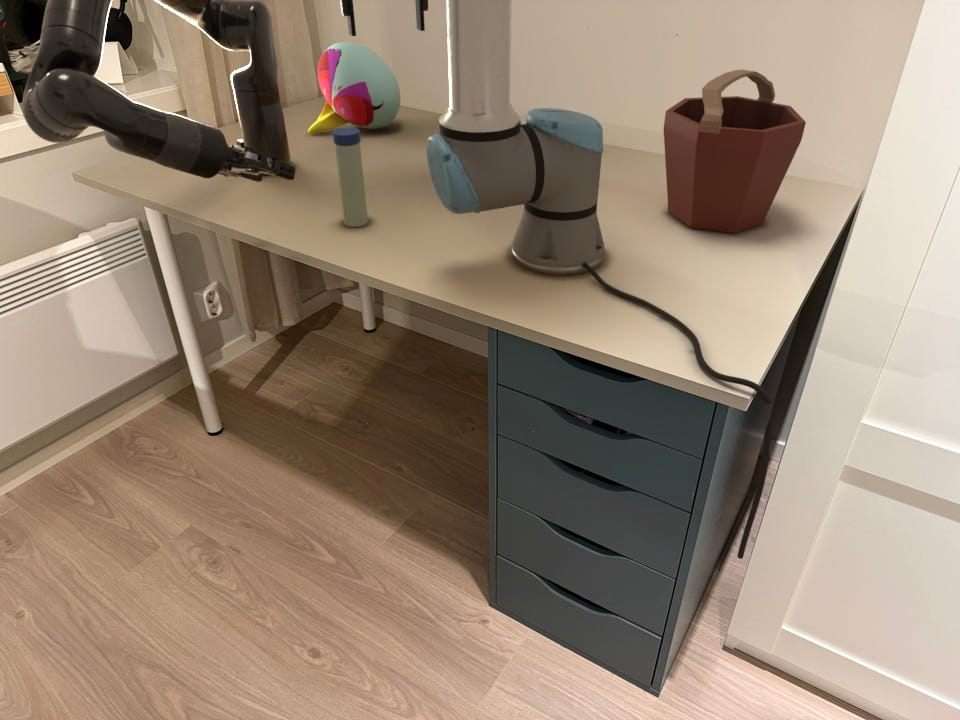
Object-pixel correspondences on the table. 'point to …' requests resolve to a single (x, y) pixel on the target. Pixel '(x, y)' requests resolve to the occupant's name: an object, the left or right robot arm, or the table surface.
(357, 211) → the bottle
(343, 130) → the lid
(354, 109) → the toy
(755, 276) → the table surface
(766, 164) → the bucket
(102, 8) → the left robot arm
